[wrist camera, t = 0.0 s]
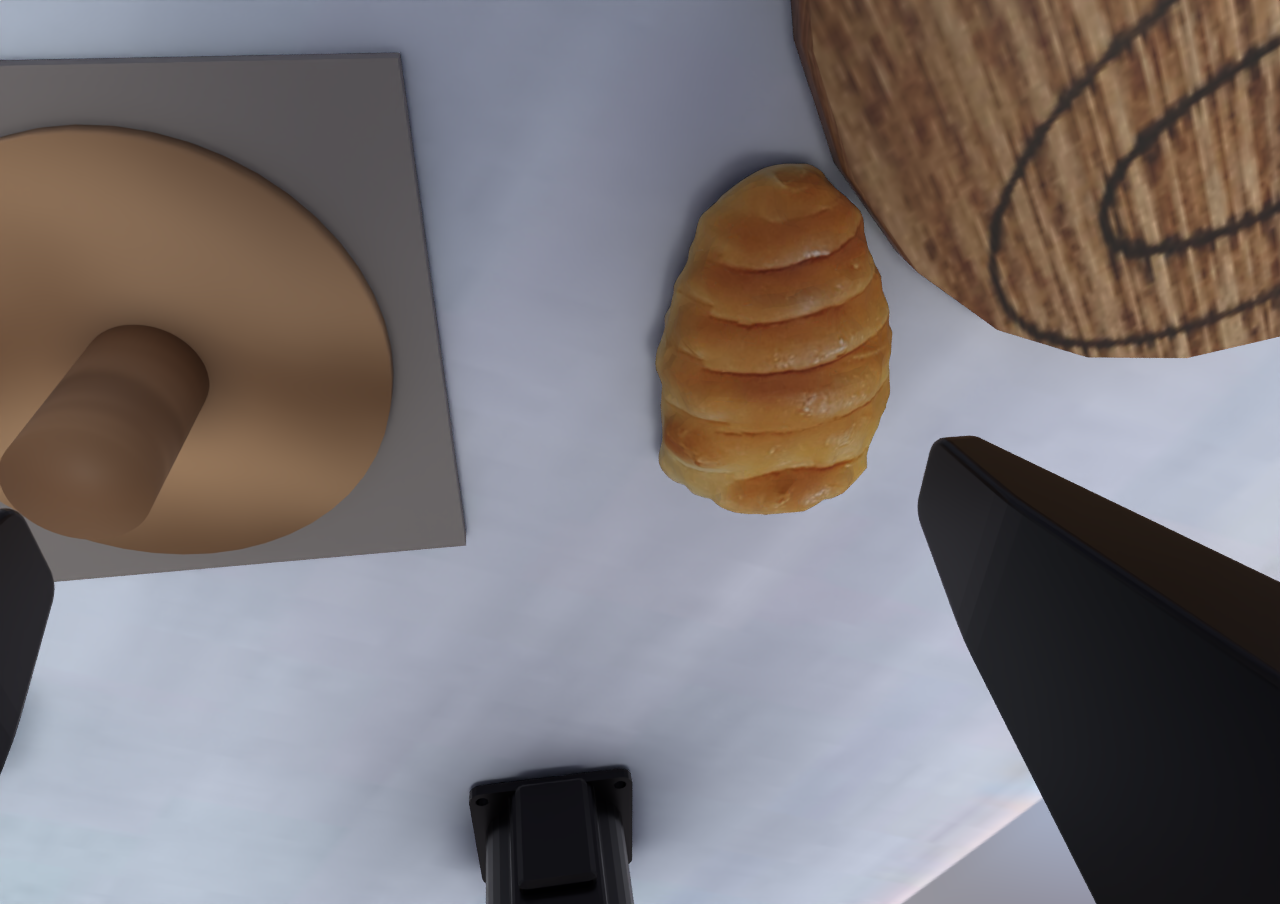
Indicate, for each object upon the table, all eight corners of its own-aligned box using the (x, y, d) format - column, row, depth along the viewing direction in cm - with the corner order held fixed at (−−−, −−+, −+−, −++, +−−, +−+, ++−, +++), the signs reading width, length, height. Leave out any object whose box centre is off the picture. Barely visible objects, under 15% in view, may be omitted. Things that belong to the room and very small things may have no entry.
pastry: (636, 168, 22) (663, 221, 19) (893, 141, 23) (959, 188, 20) (654, 467, 27) (677, 546, 24) (861, 438, 28) (909, 512, 25)
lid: (421, 518, 26) (409, 652, 22) (4, 553, 25) (-99, 705, 20) (351, 116, 20) (313, 193, 15) (-223, 132, 18) (-448, 223, 14)
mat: (466, 533, 28) (465, 545, 27) (-14, 574, 26) (-24, 588, 25) (399, 52, 20) (397, 58, 19) (-302, 66, 18) (-324, 72, 17)
